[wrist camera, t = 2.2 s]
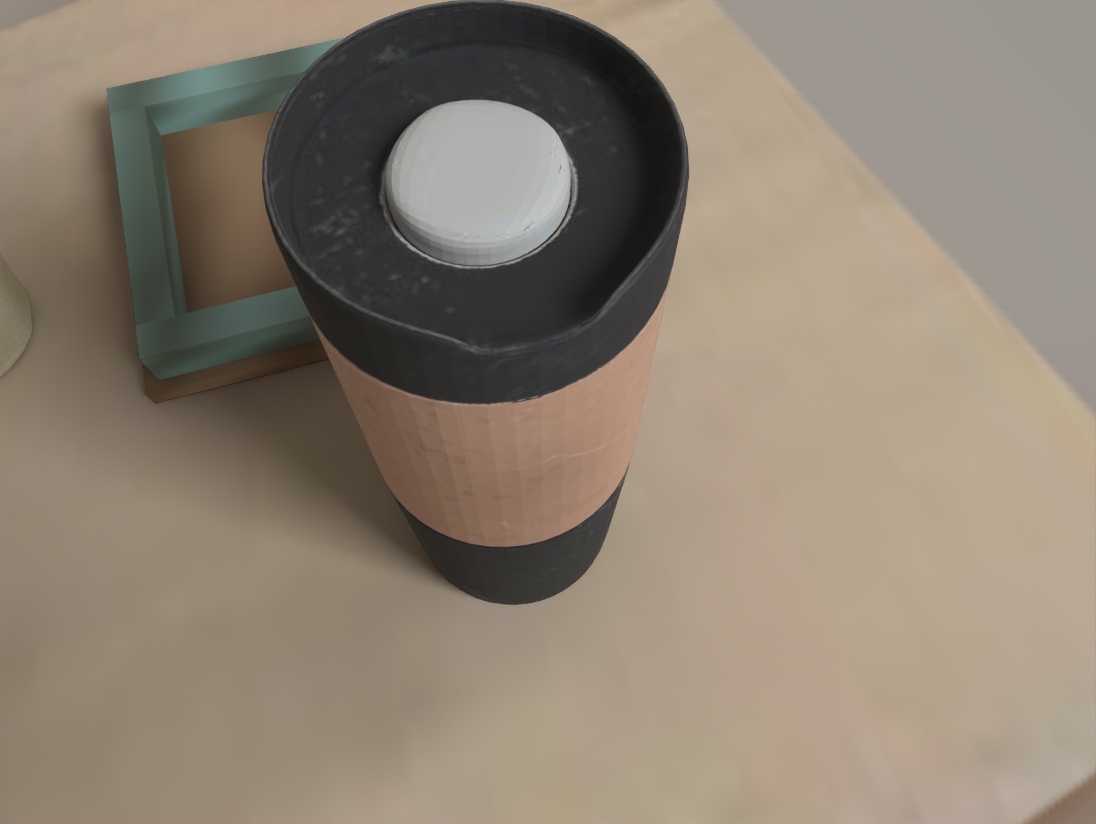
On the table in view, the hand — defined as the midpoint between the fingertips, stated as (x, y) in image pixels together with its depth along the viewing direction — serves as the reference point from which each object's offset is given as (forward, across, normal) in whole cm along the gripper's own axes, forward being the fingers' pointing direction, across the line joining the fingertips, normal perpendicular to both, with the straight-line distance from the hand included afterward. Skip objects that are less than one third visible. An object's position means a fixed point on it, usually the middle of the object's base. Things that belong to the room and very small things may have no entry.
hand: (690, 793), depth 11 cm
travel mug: (+22, 0, -6) cm, 23 cm away
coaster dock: (+33, -5, +5) cm, 33 cm away
